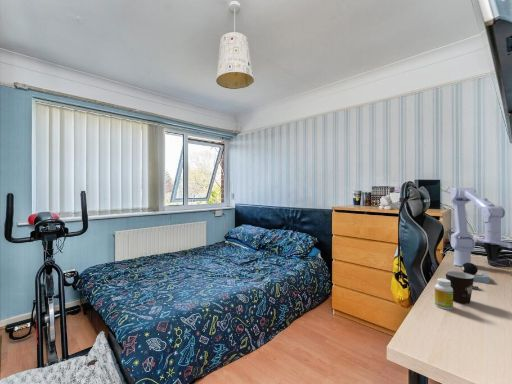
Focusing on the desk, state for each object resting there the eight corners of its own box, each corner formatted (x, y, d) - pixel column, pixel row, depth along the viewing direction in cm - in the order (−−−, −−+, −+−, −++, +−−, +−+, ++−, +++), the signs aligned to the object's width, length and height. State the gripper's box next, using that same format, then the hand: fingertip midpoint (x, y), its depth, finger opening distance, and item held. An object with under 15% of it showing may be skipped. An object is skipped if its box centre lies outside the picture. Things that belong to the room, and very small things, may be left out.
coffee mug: (463, 296, 101) (463, 271, 101) (480, 305, 93) (480, 278, 93) (432, 294, 103) (432, 270, 103) (446, 304, 94) (446, 277, 94)
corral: (455, 273, 128) (455, 268, 128) (485, 278, 122) (485, 273, 122) (457, 278, 122) (457, 273, 121) (489, 283, 115) (489, 278, 115)
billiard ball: (480, 277, 124) (480, 265, 124) (466, 276, 125) (466, 264, 125) (473, 273, 129) (473, 261, 129) (459, 272, 131) (459, 260, 131)
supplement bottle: (448, 311, 89) (448, 283, 89) (431, 305, 94) (431, 278, 94) (456, 307, 91) (456, 281, 91) (439, 302, 96) (439, 276, 96)
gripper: (470, 229, 126) (469, 256, 126) (505, 234, 112) (505, 265, 112) (480, 228, 128) (479, 255, 128) (516, 233, 114) (516, 263, 114)
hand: (492, 260), depth 120 cm, fingers closed
